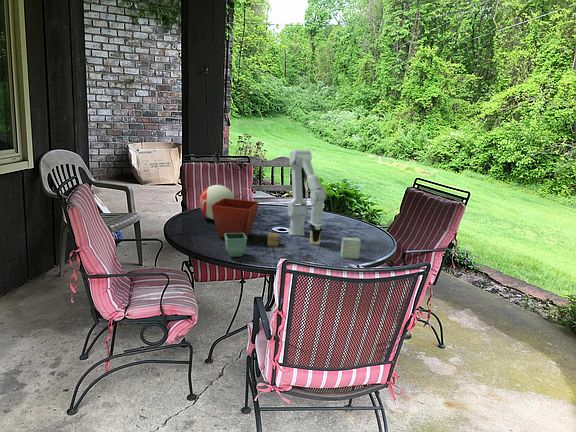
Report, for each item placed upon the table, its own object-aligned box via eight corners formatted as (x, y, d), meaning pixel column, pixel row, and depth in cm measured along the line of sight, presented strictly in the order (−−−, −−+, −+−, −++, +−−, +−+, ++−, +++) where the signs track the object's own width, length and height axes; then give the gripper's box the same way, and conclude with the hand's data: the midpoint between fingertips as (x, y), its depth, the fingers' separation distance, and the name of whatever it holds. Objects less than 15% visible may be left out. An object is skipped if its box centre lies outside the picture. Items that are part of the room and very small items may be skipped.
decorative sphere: (201, 214, 276) (201, 181, 271) (235, 216, 277) (236, 183, 272) (196, 223, 256) (197, 187, 252) (233, 224, 258) (234, 189, 253)
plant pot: (247, 243, 227) (249, 209, 223) (210, 238, 230) (210, 205, 226) (257, 233, 245) (259, 201, 241) (222, 229, 248) (223, 197, 244)
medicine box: (357, 256, 217) (359, 238, 215) (359, 259, 213) (360, 240, 211) (340, 255, 217) (342, 237, 215) (341, 258, 212) (343, 240, 210)
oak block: (309, 241, 235) (310, 231, 234) (318, 242, 235) (319, 231, 234) (310, 244, 231) (311, 233, 229) (319, 244, 231) (320, 233, 230)
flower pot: (226, 258, 202) (227, 238, 200) (223, 252, 210) (224, 233, 208) (246, 258, 205) (247, 238, 202) (243, 251, 213) (243, 232, 211)
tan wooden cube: (267, 242, 229) (267, 232, 228) (277, 243, 230) (278, 233, 228) (267, 245, 224) (268, 235, 223) (277, 246, 225) (278, 236, 224)
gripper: (307, 209, 236) (305, 235, 239) (310, 216, 222) (308, 243, 225) (321, 210, 237) (319, 236, 240) (324, 217, 223) (322, 244, 226)
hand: (314, 240), depth 233 cm, fingers closed on oak block, 4 cm apart
